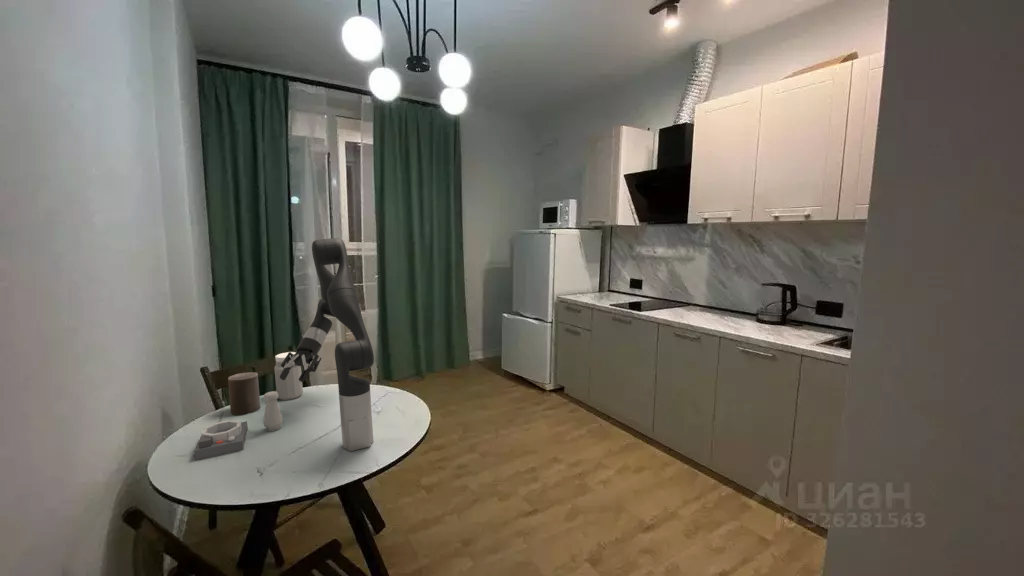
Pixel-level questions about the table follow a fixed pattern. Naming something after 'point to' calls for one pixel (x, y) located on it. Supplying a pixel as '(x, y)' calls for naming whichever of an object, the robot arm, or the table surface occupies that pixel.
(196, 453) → the octagon ring base
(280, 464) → the table surface
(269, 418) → the salt shaker
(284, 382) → the jar
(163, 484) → the table surface
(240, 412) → the pillar candle
